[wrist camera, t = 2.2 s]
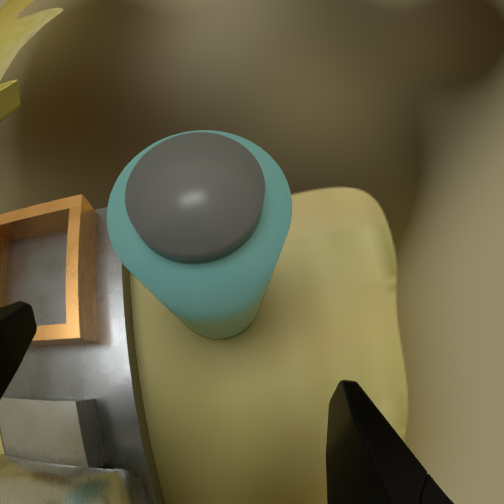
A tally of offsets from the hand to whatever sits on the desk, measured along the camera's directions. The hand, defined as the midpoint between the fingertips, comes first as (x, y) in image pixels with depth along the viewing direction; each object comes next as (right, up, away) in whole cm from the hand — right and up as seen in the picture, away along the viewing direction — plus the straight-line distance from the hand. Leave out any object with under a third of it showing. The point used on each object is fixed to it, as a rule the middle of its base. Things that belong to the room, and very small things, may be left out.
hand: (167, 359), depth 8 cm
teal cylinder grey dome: (0, 0, +12) cm, 12 cm away
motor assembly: (-10, -6, +9) cm, 15 cm away
